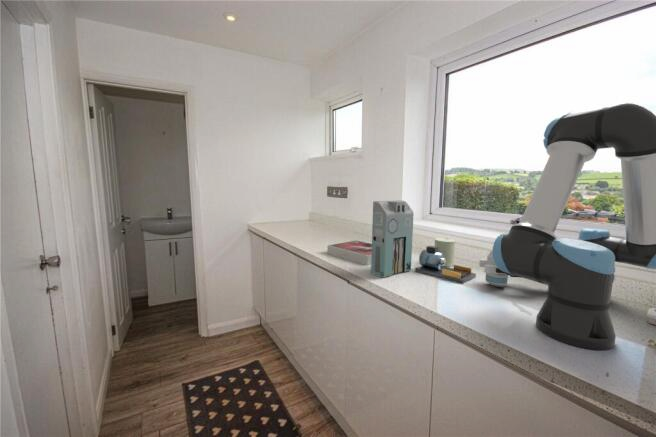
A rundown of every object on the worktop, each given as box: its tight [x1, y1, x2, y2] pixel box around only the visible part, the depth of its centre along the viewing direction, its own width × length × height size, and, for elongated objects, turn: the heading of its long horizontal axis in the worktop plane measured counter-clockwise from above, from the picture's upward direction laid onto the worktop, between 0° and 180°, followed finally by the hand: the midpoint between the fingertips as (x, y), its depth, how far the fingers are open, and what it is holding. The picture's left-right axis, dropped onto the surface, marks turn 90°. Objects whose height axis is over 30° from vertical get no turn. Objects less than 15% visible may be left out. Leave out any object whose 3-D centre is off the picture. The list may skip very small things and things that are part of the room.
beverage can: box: [484, 250, 509, 288], centre depth 105 cm, size 7×7×12 cm
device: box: [370, 200, 415, 279], centre depth 119 cm, size 16×8×30 cm, turn 126°
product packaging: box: [326, 239, 372, 266], centre depth 148 cm, size 22×28×5 cm
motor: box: [414, 245, 477, 285], centre depth 118 cm, size 12×20×10 cm, turn 41°
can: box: [434, 237, 456, 267], centre depth 134 cm, size 9×9×12 cm
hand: (482, 265), depth 106 cm, fingers closed on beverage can, 7 cm apart
